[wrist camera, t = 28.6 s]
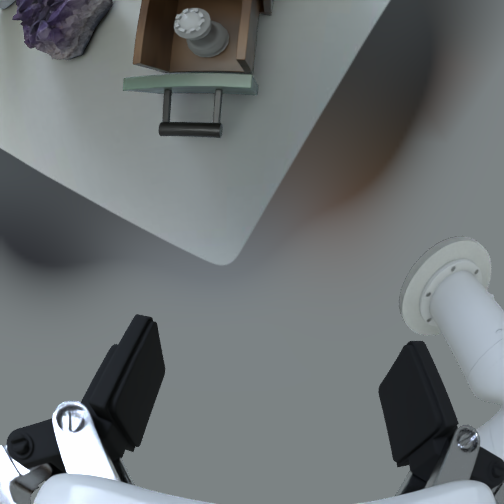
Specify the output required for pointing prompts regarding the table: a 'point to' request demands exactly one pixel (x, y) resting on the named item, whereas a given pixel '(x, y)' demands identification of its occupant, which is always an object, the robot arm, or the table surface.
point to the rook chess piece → (201, 32)
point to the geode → (60, 24)
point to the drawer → (195, 58)
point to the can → (5, 3)
